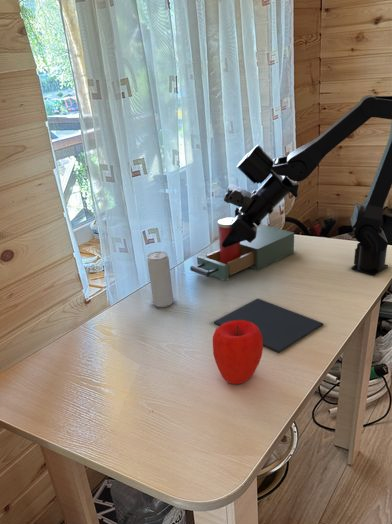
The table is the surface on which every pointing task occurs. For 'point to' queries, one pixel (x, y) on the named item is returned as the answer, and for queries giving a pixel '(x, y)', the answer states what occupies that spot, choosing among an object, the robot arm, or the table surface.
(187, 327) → the table surface
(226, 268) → the drawer
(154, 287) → the beverage can
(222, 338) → the apple
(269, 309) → the mat
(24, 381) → the table surface
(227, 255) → the tea tin
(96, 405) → the table surface
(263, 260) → the cabinet
